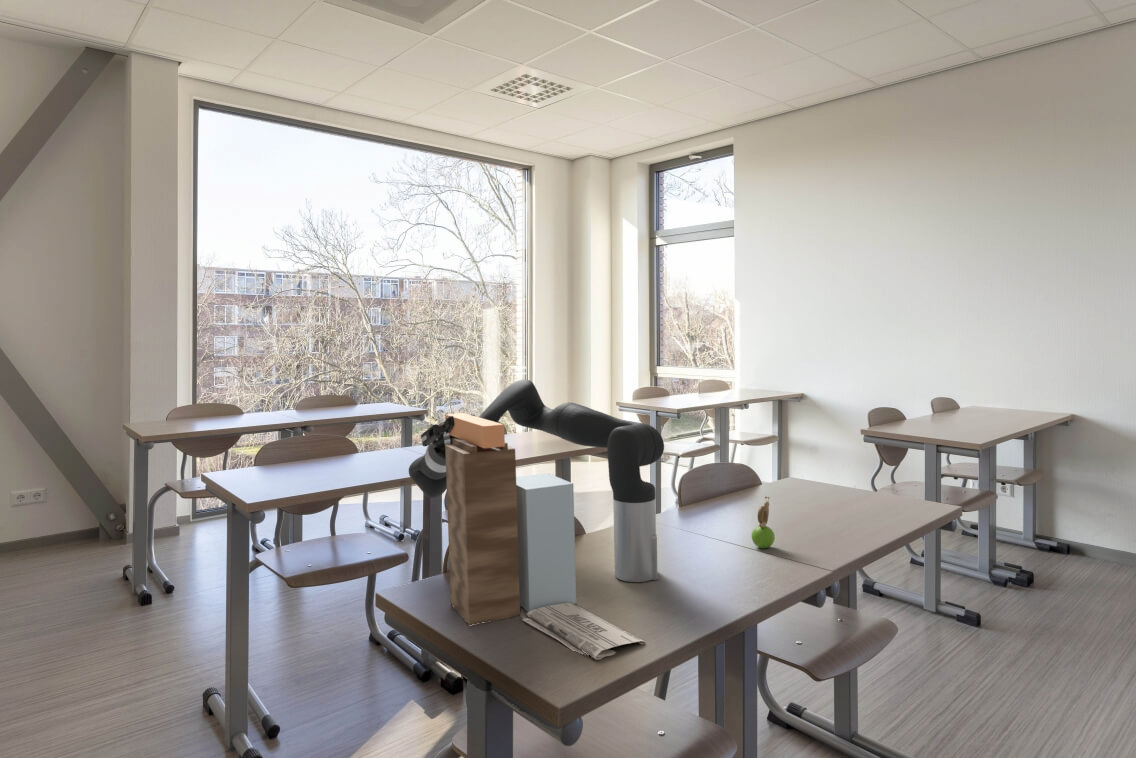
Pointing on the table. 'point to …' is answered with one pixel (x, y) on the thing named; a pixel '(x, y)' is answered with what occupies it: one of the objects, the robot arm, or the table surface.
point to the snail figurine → (763, 528)
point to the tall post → (482, 531)
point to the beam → (477, 430)
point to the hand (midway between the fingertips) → (463, 419)
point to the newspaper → (580, 629)
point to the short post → (545, 541)
